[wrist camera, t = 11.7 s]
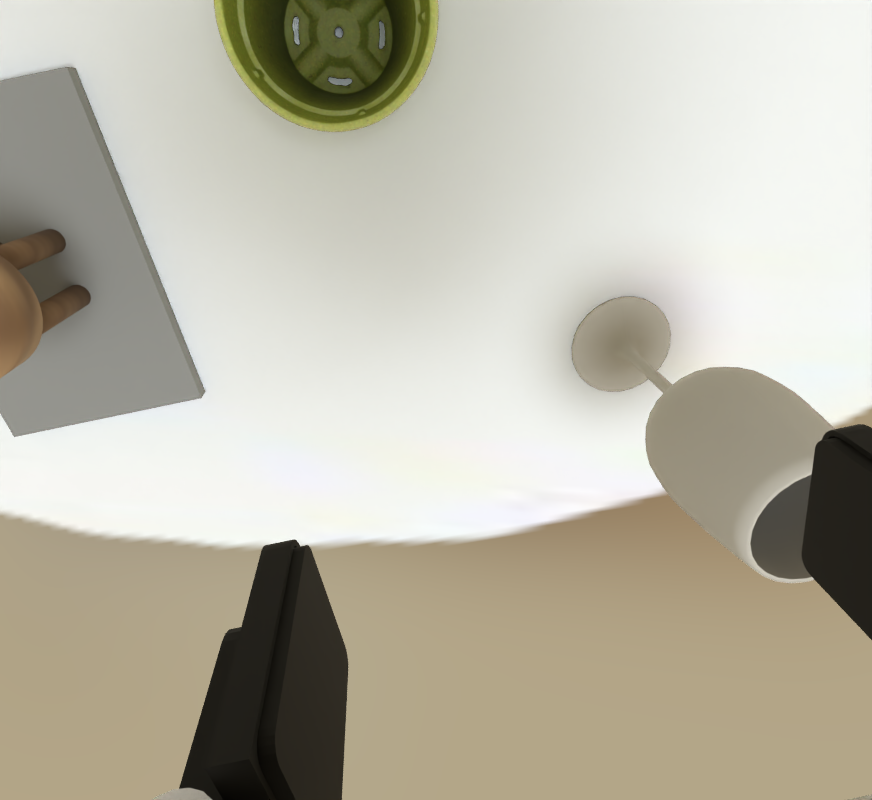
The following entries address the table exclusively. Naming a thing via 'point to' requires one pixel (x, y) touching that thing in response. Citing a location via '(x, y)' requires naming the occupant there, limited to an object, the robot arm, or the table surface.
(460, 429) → the table surface
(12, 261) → the stool
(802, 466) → the wineglass
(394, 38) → the plant pot
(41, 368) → the mat
